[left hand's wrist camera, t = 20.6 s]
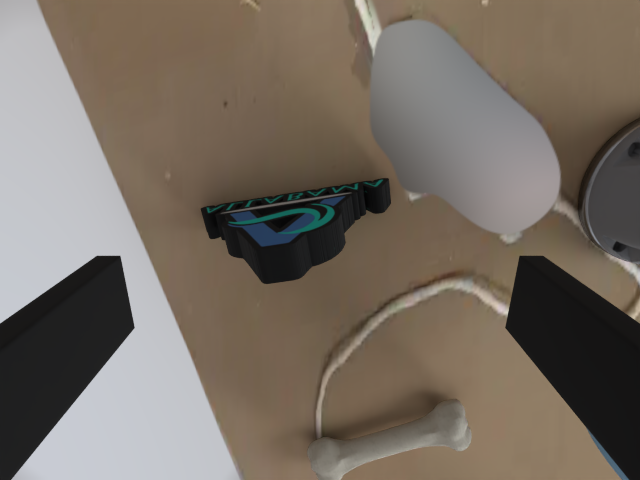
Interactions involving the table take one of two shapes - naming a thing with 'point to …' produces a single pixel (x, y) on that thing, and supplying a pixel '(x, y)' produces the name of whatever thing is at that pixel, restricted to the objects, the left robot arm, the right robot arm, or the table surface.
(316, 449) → the dog toy
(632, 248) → the left robot arm
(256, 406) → the table surface
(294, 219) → the decorative sign
